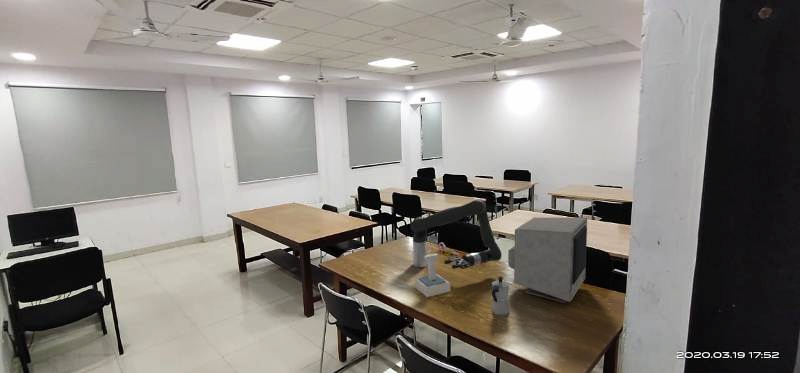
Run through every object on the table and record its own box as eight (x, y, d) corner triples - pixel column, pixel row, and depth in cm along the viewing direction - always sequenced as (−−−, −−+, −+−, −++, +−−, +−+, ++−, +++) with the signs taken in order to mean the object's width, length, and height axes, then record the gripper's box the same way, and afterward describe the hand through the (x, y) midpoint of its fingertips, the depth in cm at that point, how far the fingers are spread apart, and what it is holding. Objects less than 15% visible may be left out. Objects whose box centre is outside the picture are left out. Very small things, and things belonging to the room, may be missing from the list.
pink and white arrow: (458, 259, 269) (438, 249, 283) (459, 259, 270) (439, 249, 284) (459, 251, 267) (439, 241, 281) (460, 251, 268) (440, 241, 282)
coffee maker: (497, 304, 192) (497, 271, 190) (514, 308, 187) (514, 274, 184) (484, 315, 181) (484, 280, 179) (501, 320, 176) (501, 284, 173)
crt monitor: (573, 312, 181) (575, 233, 175) (500, 294, 204) (500, 223, 198) (587, 287, 209) (590, 217, 203) (522, 273, 231) (522, 211, 225)
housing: (414, 287, 218) (414, 278, 217) (437, 282, 224) (436, 273, 223) (427, 297, 204) (426, 288, 203) (450, 291, 210) (450, 282, 209)
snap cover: (419, 281, 216) (418, 254, 214) (435, 277, 220) (434, 250, 218) (428, 288, 206) (427, 259, 204) (445, 284, 210) (444, 256, 208)
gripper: (464, 250, 229) (441, 255, 222) (478, 257, 216) (454, 262, 209) (464, 262, 230) (442, 267, 223) (478, 269, 217) (455, 274, 210)
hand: (448, 264), depth 216 cm, fingers open, 8 cm apart
